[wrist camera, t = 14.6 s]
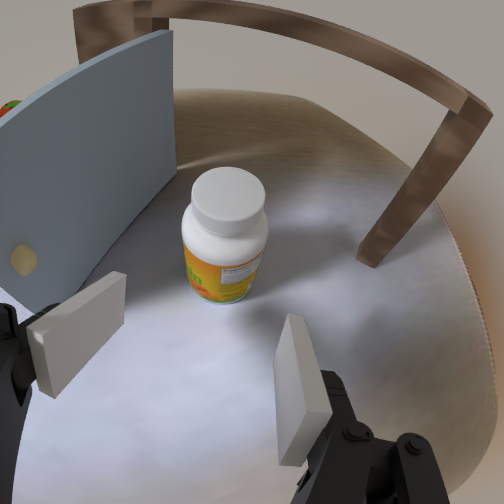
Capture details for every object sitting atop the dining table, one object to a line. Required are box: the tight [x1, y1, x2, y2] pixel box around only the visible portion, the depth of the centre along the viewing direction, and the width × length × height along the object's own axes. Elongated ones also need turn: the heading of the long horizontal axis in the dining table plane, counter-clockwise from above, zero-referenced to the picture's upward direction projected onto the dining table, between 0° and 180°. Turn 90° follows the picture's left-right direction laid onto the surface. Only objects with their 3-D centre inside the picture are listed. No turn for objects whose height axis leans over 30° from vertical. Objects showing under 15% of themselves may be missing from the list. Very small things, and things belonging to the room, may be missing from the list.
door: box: [0, 29, 177, 314], centre depth 17 cm, size 19×3×15 cm, turn 154°
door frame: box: [73, 0, 493, 268], centre depth 21 cm, size 34×2×18 cm, turn 64°
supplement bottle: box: [182, 167, 269, 304], centre depth 19 cm, size 5×5×10 cm
